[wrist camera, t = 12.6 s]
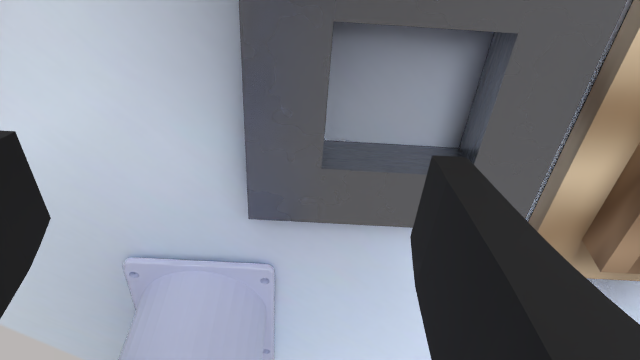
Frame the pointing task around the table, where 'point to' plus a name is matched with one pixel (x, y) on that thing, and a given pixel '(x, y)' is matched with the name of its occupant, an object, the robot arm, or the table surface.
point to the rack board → (601, 171)
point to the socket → (406, 160)
